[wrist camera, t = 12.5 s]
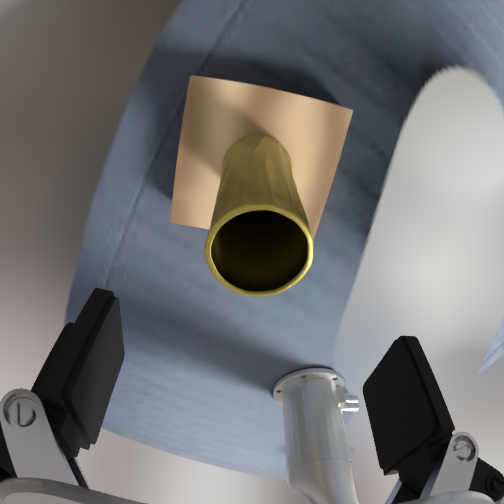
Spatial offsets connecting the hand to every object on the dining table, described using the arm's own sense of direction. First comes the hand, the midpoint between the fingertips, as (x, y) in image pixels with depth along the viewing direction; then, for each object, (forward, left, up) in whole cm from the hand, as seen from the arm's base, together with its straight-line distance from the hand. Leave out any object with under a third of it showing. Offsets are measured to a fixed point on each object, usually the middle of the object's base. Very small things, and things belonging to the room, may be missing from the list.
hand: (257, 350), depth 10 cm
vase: (0, 0, -20) cm, 20 cm away
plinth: (0, 0, -24) cm, 24 cm away
